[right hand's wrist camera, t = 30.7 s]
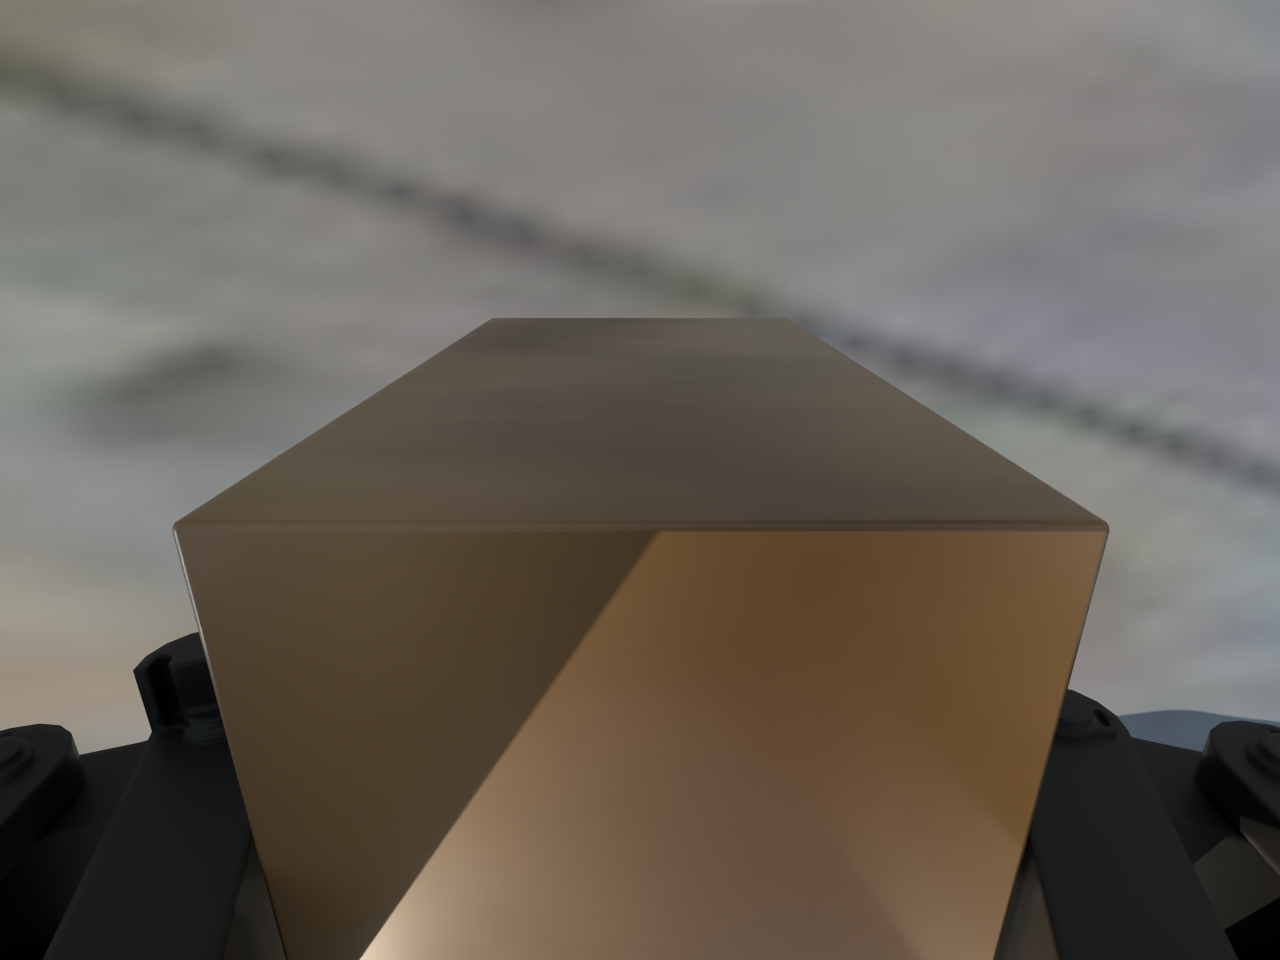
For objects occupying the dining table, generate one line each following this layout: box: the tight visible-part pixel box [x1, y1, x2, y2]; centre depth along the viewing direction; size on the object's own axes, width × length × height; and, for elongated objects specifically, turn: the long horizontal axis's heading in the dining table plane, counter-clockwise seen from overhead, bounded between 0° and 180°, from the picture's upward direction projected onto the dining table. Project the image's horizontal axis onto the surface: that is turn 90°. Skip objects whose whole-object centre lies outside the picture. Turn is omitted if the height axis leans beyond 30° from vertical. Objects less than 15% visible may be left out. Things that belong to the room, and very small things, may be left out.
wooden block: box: [172, 318, 1109, 960], centre depth 11 cm, size 6×9×10 cm
